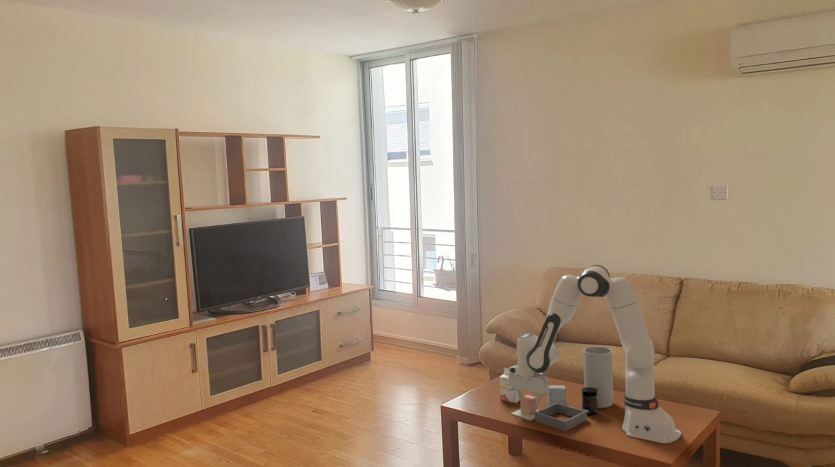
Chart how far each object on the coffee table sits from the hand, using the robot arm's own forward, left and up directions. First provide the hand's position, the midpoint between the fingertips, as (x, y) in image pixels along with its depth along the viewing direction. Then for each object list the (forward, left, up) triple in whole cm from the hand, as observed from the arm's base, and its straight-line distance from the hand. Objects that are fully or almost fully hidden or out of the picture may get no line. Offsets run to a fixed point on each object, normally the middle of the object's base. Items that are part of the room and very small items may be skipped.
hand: (529, 400), depth 274 cm
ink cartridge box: (+17, -8, -6) cm, 20 cm away
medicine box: (-3, -17, -6) cm, 18 cm away
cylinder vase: (-16, -31, -6) cm, 35 cm away
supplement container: (-19, -19, -6) cm, 27 cm away
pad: (0, 0, -6) cm, 6 cm away
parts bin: (-15, -3, -6) cm, 16 cm away
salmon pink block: (0, 0, -6) cm, 6 cm away
